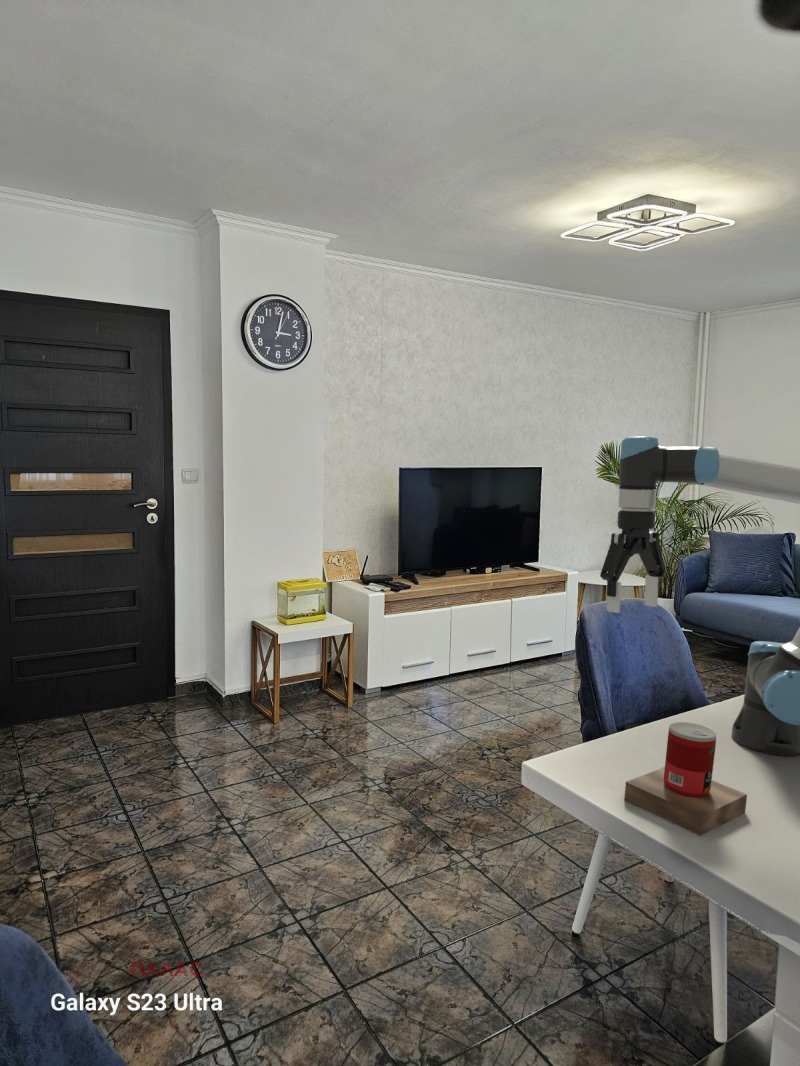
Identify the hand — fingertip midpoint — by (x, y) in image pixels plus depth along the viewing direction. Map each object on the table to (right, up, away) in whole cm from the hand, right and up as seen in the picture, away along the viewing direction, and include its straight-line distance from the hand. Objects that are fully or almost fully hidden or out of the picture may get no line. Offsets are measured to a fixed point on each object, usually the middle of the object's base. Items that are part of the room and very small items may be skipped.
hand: (632, 608), depth 161 cm
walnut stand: (+2, -33, -25) cm, 42 cm away
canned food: (+2, -30, -25) cm, 39 cm away
